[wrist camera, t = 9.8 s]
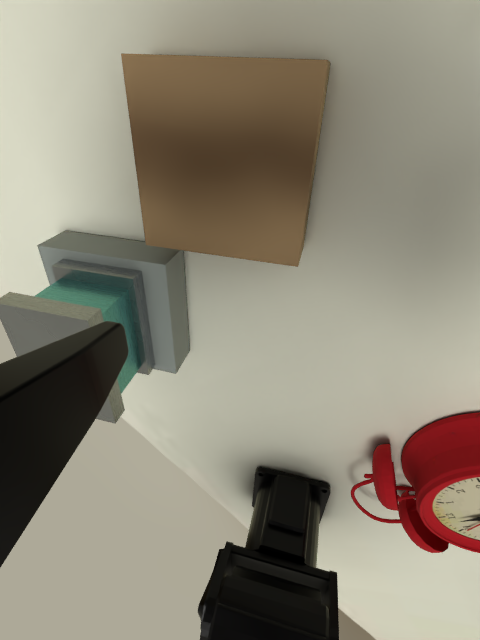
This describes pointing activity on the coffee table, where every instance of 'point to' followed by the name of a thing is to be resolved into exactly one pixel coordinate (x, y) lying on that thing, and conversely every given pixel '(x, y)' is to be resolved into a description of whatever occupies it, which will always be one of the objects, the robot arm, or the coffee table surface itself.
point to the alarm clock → (434, 484)
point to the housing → (85, 317)
